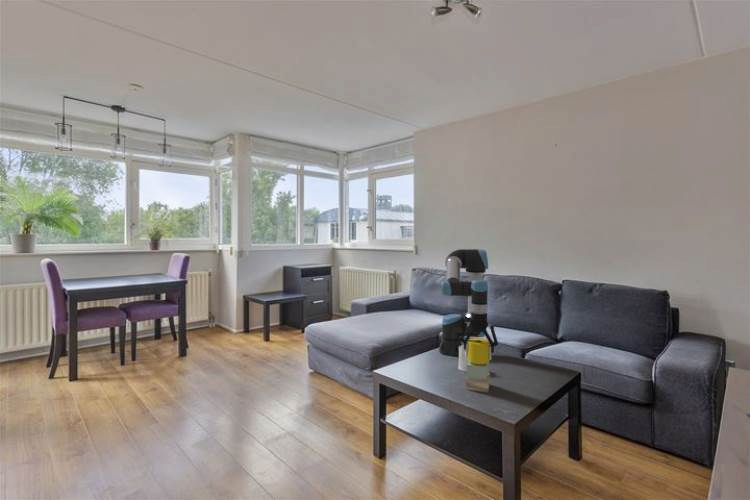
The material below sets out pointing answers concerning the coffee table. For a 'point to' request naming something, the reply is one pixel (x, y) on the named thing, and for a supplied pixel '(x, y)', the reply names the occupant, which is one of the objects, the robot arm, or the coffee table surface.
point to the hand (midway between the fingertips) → (478, 357)
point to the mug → (462, 359)
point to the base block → (478, 384)
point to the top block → (477, 370)
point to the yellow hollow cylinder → (478, 351)
